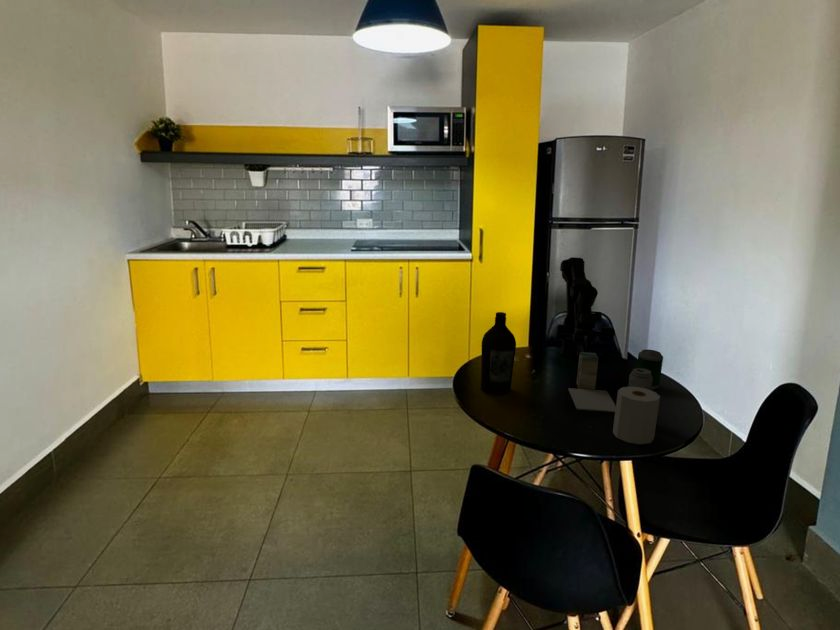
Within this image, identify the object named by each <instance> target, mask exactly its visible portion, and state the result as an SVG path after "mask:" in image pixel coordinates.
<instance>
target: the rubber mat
mask: <svg viewBox="0 0 840 630" xmlns="http://www.w3.org/2000/svg"><path fill="white" fill-rule="evenodd" d="M567 390H568V392H569V394H570V396H571V399H572V401H573V404H574V406H575V409H576V410H580V411H592V412H593V411H595V412H606V413H607V412H608V413H611V412H612V413H615V410H616V404H615V402H614V400H613V398H612V396H611V395H610V394H609V392H608V391H607V390H600V389H595V390H589V389H579V388H570V387H568V389H567Z"/></svg>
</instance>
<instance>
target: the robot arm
mask: <svg viewBox="0 0 840 630" xmlns="http://www.w3.org/2000/svg"><path fill="white" fill-rule="evenodd" d="M585 263H586V262H585V260H584V258H582V257H574V256H573V257H569V258H567V259H564V260H562V261H561V262H560V267H559V270H560V272H561V277H562V279H563V281H564V282H566V283H565V286H566V289H565V290H566V294H565V295H566V316H565V318H564V320H563V322H562V324H558V325H557V326H556V328H555V331H554V338H555V340H560V341H562V348H561V351H560V352H559V353H558V356H562V357H564V358H565V357H566V358H570V359H577V357H578V358H579V355H580V352H588V353H589V351H590V348H591V345H592V344H595V342H596V339H597V338H598V340H599V341H600V342H603V343H610V342H611V343H612V341H613V339H614V337H615V334H616V332H615V331H616V330H615V329H614V328H613V327H609V326H608V327H607V326H602V327H601V328H600V330H598V329H597V330H596V329H595V327H596V324H597V323H601V322H602V321H603V316H602V315H603V314H602V312H600V311H596V312H594V313H592V312H593V311H592V307H593V306H594V303H595V302H596V299H597V297H598V289H597V288H596V287H595V286H593V284H592V282H591V281H590V280H589V279H587V277H586V273H585V265H586V264H585ZM594 329H595V330H594ZM585 336H586V338H585ZM579 350H580V352H578V351H579Z"/></svg>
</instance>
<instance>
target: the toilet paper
mask: <svg viewBox="0 0 840 630" xmlns="http://www.w3.org/2000/svg"><path fill="white" fill-rule="evenodd" d="M660 400H661V396H660V395H659V394H658V393H657V392H656V391H655V390H648V389H645V388H640V387H632V386H631V387H628V386H624V387H621V388H619V389H618V390H617V395H616V402H615V403H616V404H615V405H616V410H615V412H614V419H613V428H612V433H613V435H614V437H616V439H619V440H622V441H623V442H626V443H629V444H635V445H647V444H651V443H652V442H653V441H654V439H655V435H656V434H655V433H656V428H657V427H656V426H657V420H658V415H659V414H658V413H659V408H660V407H659V406H660V402H661V401H660Z"/></svg>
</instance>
